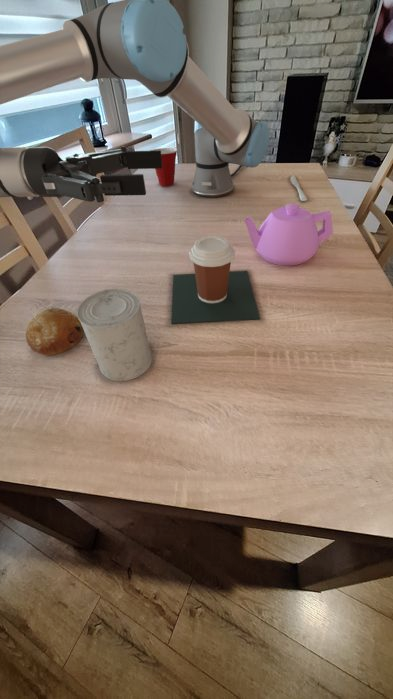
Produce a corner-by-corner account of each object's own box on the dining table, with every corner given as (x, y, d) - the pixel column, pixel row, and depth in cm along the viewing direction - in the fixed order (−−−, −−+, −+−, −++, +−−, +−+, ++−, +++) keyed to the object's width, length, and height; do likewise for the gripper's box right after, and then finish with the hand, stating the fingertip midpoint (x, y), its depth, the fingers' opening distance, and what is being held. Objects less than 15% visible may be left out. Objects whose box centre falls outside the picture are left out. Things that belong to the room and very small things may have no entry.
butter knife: (299, 200, 101) (308, 199, 101) (288, 175, 120) (296, 175, 120) (298, 202, 102) (308, 201, 101) (288, 177, 121) (296, 176, 120)
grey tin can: (160, 347, 57) (150, 293, 48) (137, 386, 50) (121, 332, 42) (116, 337, 59) (98, 284, 50) (88, 374, 53) (63, 320, 44)
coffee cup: (186, 288, 69) (181, 238, 60) (222, 279, 71) (223, 229, 62) (201, 311, 63) (199, 259, 54) (240, 300, 65) (244, 248, 56)
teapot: (317, 237, 84) (329, 190, 75) (336, 266, 73) (352, 216, 65) (238, 241, 84) (241, 195, 76) (245, 270, 74) (249, 221, 65)
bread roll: (56, 335, 66) (25, 310, 60) (92, 315, 63) (63, 288, 58) (43, 369, 59) (7, 345, 54) (84, 349, 56) (50, 321, 51)
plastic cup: (182, 179, 124) (179, 144, 116) (178, 188, 117) (175, 152, 108) (156, 179, 125) (151, 145, 117) (150, 188, 118) (145, 153, 109)
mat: (173, 275, 74) (173, 274, 73) (247, 271, 73) (247, 270, 73) (171, 324, 61) (171, 323, 61) (260, 319, 61) (260, 318, 61)
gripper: (71, 174, 64) (169, 172, 62) (7, 225, 47) (139, 225, 45) (57, 131, 59) (164, 127, 56) (-20, 171, 42) (129, 168, 39)
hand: (153, 171), depth 50 cm, fingers open, 13 cm apart
